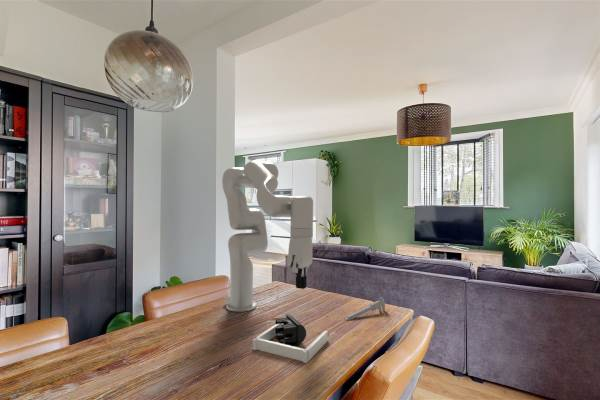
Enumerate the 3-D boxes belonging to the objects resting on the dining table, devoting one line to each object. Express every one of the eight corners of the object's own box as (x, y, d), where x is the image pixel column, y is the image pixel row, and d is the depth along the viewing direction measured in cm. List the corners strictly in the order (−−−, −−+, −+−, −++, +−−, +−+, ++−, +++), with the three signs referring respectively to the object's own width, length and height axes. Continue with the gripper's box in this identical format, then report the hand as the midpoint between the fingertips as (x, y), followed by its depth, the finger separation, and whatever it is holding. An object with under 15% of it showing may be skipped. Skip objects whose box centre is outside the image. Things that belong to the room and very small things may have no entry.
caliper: (383, 311, 127) (383, 296, 128) (385, 312, 127) (385, 296, 127) (344, 320, 117) (344, 303, 117) (346, 321, 116) (346, 304, 116)
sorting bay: (252, 349, 93) (252, 339, 93) (279, 330, 107) (279, 321, 107) (306, 363, 85) (306, 352, 85) (327, 340, 99) (327, 331, 99)
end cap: (306, 345, 96) (306, 323, 96) (285, 349, 93) (285, 327, 93) (294, 333, 105) (294, 313, 105) (274, 336, 102) (274, 316, 102)
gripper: (301, 230, 111) (301, 281, 111) (280, 234, 98) (280, 291, 98) (320, 231, 108) (320, 284, 108) (301, 235, 94) (301, 295, 94)
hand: (301, 287), depth 103 cm, fingers closed
